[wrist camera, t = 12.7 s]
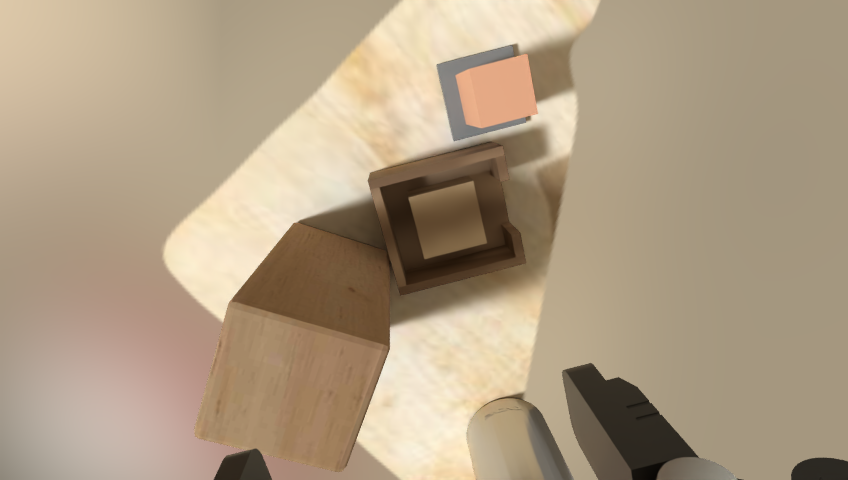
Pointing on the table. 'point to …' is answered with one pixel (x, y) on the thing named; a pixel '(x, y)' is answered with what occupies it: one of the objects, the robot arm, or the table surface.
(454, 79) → the pad
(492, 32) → the table surface
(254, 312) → the wooden block
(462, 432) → the table surface
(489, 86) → the block
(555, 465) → the robot arm
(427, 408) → the table surface
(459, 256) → the crate
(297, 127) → the table surface
